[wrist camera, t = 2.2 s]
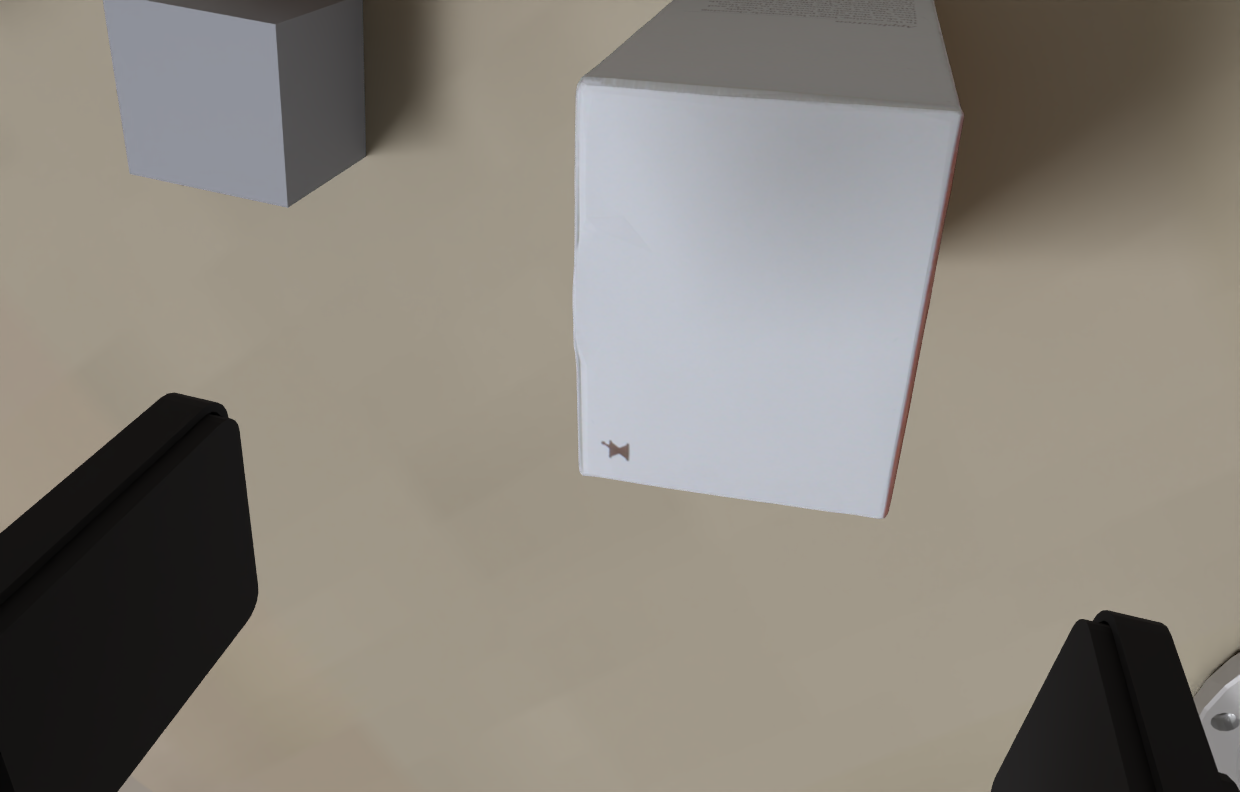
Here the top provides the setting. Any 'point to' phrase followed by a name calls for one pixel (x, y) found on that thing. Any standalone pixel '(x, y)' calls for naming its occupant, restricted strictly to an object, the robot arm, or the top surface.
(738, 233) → the small box
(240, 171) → the slate-grey cube
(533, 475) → the top surface
